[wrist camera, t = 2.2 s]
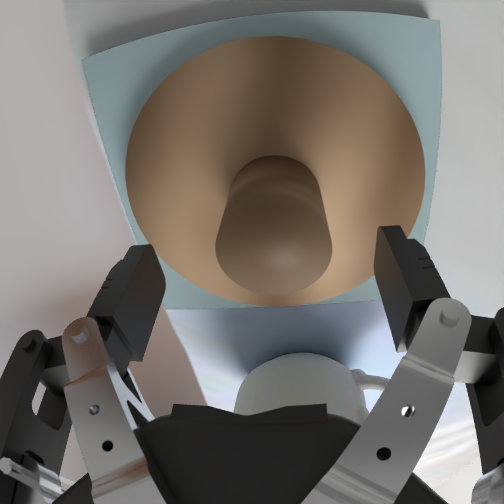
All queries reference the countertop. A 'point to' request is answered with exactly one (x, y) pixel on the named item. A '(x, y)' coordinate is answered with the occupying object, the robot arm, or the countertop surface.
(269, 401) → the teacup
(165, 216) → the lid
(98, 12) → the countertop surface
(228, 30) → the mat
